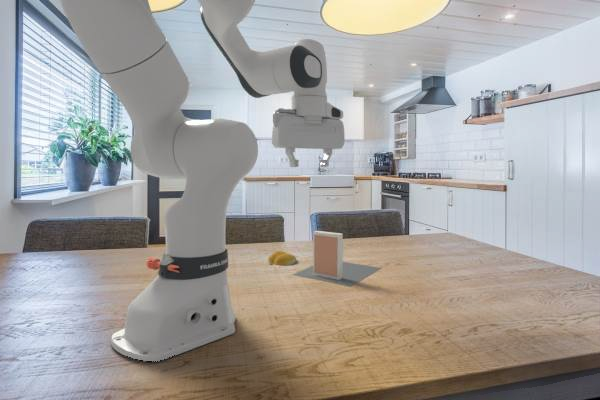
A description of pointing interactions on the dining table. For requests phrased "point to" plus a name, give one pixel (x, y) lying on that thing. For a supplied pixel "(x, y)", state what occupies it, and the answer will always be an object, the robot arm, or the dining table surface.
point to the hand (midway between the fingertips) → (309, 166)
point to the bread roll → (281, 258)
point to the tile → (327, 254)
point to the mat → (343, 274)
